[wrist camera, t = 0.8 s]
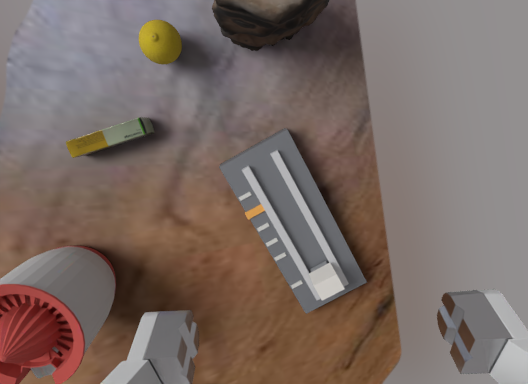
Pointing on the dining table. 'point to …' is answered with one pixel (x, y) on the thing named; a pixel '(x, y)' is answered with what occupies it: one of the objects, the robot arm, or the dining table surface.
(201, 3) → the dining table surface
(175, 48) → the lemon
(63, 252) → the citrus juicer
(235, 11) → the owl
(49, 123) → the dining table surface
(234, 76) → the dining table surface
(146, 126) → the medication box
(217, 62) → the dining table surface
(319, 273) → the fader
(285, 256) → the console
